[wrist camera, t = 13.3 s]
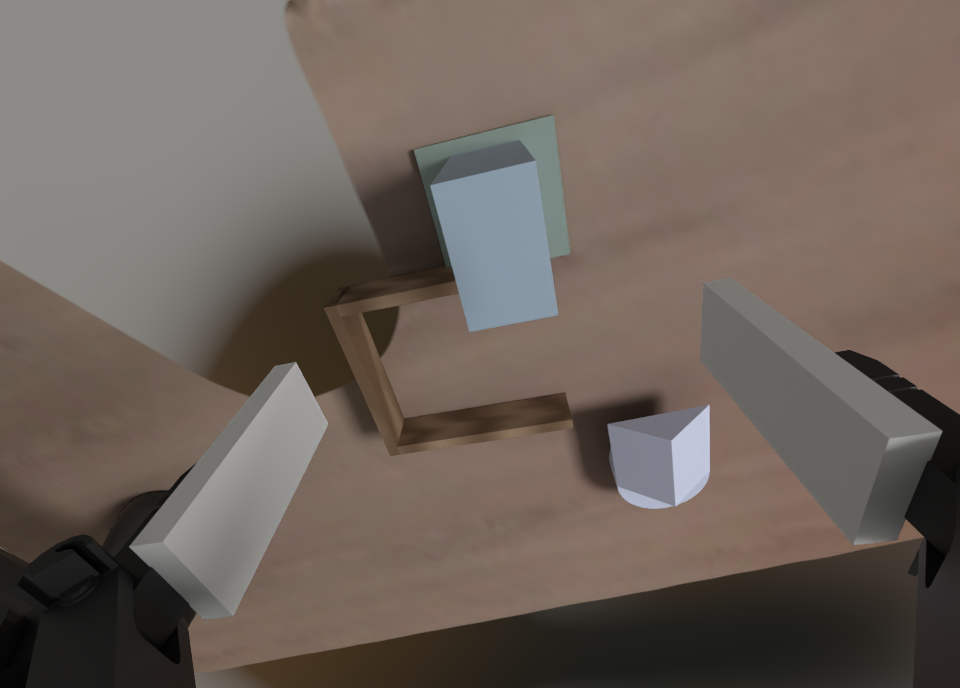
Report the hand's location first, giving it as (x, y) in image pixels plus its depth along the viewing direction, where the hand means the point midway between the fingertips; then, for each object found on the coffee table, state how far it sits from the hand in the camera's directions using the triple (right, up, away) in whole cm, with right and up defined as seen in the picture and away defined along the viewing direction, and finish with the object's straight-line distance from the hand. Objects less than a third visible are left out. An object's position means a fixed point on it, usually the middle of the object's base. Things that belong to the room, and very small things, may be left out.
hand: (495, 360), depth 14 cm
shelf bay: (-2, 0, +25) cm, 25 cm away
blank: (+1, +11, +18) cm, 21 cm away
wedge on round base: (+17, -10, +30) cm, 36 cm away
